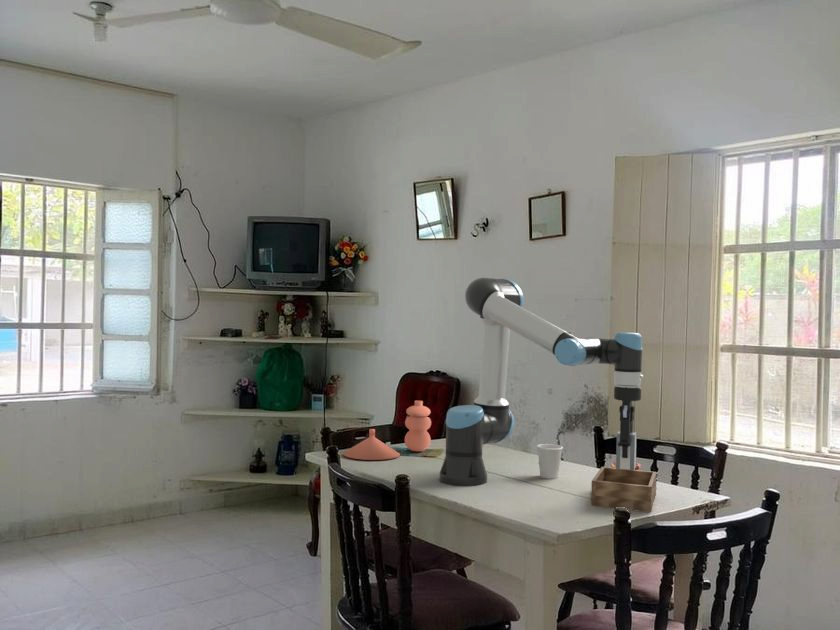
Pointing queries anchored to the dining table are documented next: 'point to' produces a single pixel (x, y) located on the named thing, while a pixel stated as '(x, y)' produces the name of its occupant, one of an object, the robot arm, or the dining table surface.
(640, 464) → the flower
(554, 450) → the dixie cup
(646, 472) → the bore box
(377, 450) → the ceramic vessels
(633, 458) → the peg
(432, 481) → the dining table surface
